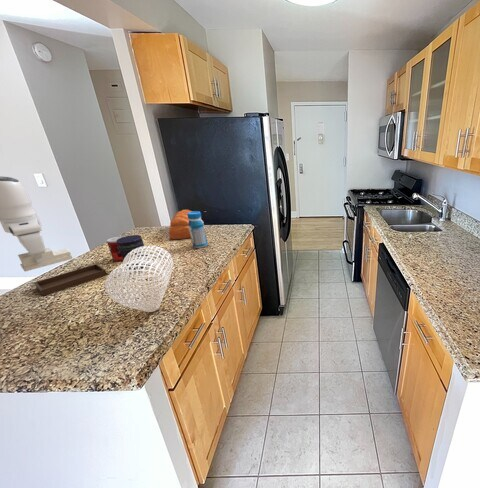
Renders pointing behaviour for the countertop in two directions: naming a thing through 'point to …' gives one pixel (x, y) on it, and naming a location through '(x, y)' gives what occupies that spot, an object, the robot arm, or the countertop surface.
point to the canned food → (114, 248)
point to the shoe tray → (69, 279)
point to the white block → (48, 258)
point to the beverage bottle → (197, 229)
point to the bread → (180, 225)
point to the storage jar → (130, 247)
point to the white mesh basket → (140, 261)
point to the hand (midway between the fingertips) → (38, 259)
